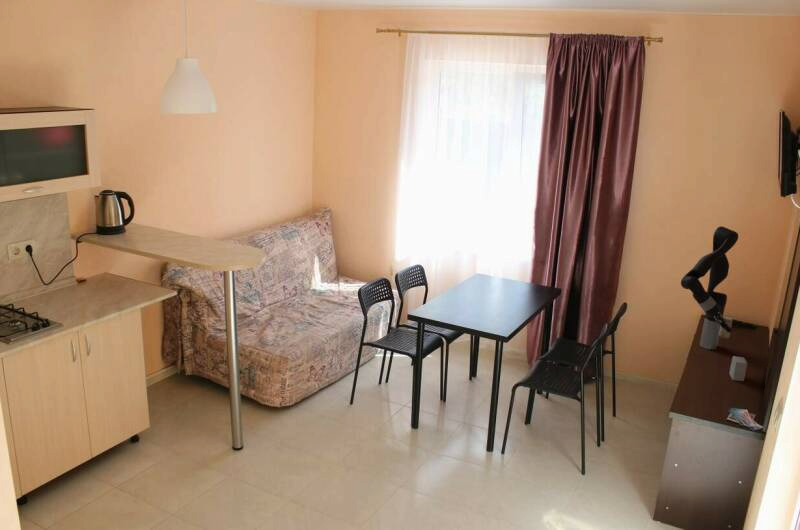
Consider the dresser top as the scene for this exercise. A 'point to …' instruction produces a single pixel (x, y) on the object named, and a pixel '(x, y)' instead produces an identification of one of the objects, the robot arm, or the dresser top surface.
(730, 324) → the maple block
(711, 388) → the dresser top surface
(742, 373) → the small box
